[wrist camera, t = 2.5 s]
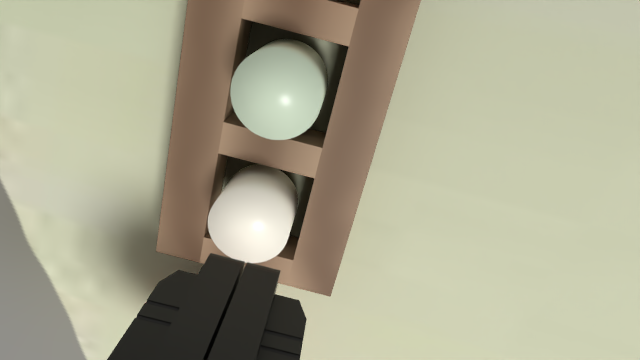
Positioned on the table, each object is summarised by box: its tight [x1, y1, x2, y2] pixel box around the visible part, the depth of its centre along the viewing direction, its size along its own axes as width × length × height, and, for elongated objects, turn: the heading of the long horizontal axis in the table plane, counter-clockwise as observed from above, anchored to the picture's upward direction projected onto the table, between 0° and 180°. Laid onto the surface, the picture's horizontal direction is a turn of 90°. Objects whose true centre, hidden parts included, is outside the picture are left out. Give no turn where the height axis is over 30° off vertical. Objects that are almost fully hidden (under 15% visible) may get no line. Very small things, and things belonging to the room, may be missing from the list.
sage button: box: [230, 39, 328, 140], centre depth 28 cm, size 5×5×4 cm
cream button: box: [208, 165, 298, 263], centre depth 31 cm, size 5×5×4 cm
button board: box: [156, 0, 421, 296], centre depth 29 cm, size 12×26×3 cm, turn 166°
